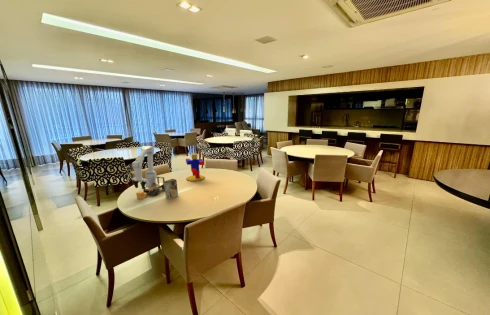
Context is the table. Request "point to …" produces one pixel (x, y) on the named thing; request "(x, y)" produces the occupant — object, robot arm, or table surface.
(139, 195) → the block
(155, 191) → the wooden toy car
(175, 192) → the coffee box
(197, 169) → the figurine
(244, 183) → the table surface
